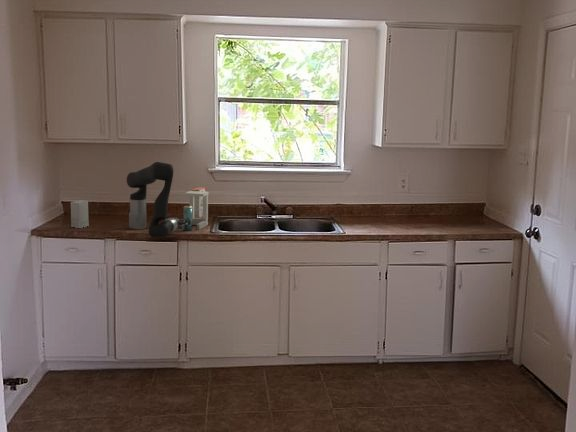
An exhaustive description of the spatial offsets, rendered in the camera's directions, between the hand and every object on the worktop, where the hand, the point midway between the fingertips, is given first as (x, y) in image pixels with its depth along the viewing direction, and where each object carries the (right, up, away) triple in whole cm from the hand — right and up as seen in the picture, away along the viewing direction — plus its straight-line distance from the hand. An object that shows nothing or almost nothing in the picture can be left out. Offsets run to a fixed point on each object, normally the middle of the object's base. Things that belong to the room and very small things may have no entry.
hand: (181, 219), depth 333 cm
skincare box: (-62, -5, +10) cm, 63 cm away
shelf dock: (+4, -4, +24) cm, 25 cm away
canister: (+2, -6, +12) cm, 14 cm away
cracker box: (+3, -1, +44) cm, 44 cm away
